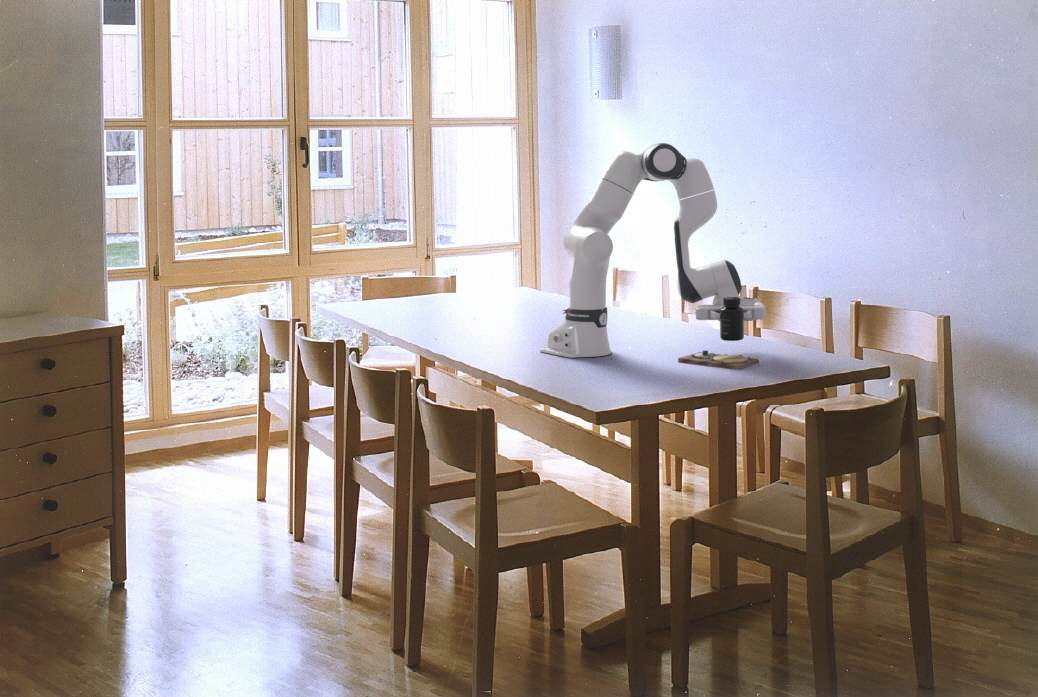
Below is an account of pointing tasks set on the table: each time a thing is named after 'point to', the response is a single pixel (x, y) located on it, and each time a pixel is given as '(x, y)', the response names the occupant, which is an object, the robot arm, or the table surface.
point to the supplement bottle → (731, 320)
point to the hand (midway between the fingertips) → (731, 316)
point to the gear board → (719, 360)
